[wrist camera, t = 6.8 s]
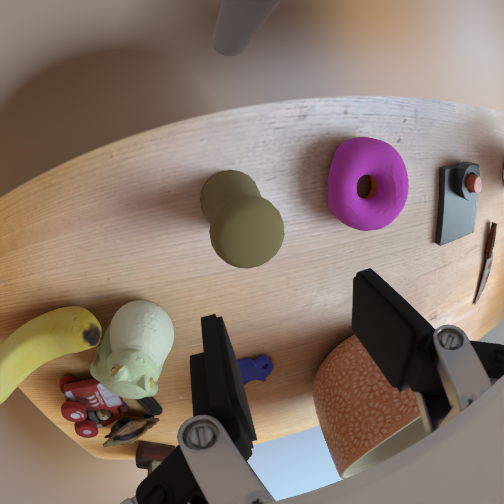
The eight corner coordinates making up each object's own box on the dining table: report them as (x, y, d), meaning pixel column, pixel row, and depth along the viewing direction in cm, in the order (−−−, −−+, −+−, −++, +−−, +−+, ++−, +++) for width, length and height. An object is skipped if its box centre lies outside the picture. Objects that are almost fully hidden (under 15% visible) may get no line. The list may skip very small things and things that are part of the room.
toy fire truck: (85, 444, 31) (139, 433, 36) (52, 404, 26) (117, 393, 30) (80, 413, 36) (129, 404, 41) (52, 370, 31) (109, 359, 36)
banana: (73, 277, 32) (87, 309, 22) (95, 309, 35) (119, 350, 25) (-37, 371, 18) (-49, 426, 9) (-13, 397, 21) (-14, 456, 12)
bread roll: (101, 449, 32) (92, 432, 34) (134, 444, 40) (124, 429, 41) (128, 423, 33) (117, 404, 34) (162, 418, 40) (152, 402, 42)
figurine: (195, 307, 32) (199, 370, 23) (152, 385, 36) (150, 440, 27) (116, 274, 28) (92, 331, 19) (90, 362, 33) (75, 416, 24)
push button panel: (439, 162, 31) (454, 166, 28) (473, 158, 31) (487, 162, 29) (435, 243, 36) (447, 250, 34) (468, 229, 37) (480, 236, 35)
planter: (402, 286, 38) (483, 364, 21) (401, 359, 47) (450, 424, 31) (282, 348, 38) (331, 464, 21) (311, 407, 47) (346, 486, 30)
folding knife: (165, 414, 38) (150, 417, 38) (165, 408, 40) (151, 411, 40) (133, 381, 34) (118, 384, 34) (135, 375, 35) (119, 378, 35)
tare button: (466, 174, 29) (474, 177, 28) (474, 172, 29) (482, 175, 28) (465, 191, 30) (473, 194, 29) (473, 189, 31) (481, 192, 29)
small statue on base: (168, 457, 50) (176, 510, 37) (134, 454, 46) (139, 508, 33) (175, 443, 46) (185, 503, 33) (138, 439, 43) (143, 501, 30)
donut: (328, 127, 26) (350, 129, 22) (398, 148, 29) (423, 154, 25) (312, 219, 30) (330, 233, 26) (381, 226, 33) (403, 240, 29)
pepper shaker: (265, 217, 29) (303, 264, 19) (211, 235, 29) (221, 293, 19) (250, 162, 26) (285, 182, 17) (192, 181, 26) (191, 213, 16)
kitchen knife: (484, 297, 47) (475, 307, 47) (480, 294, 49) (470, 304, 48) (503, 218, 37) (496, 226, 36) (497, 215, 39) (489, 222, 38)
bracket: (213, 393, 33) (205, 383, 35) (228, 410, 35) (220, 400, 37) (266, 351, 37) (255, 344, 39) (276, 370, 39) (266, 363, 41)
